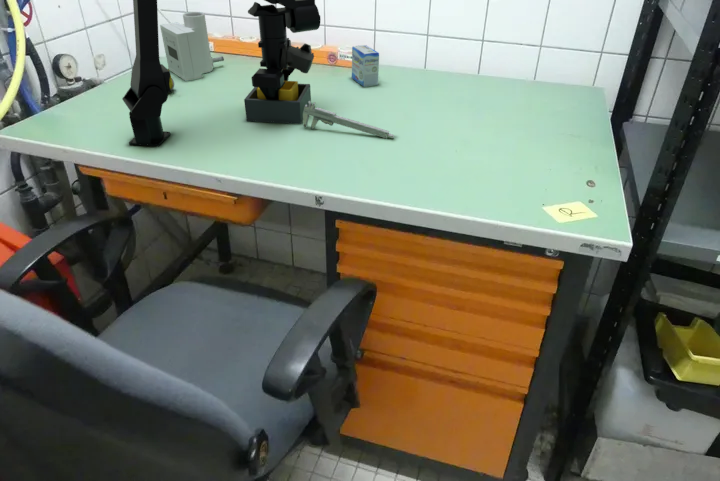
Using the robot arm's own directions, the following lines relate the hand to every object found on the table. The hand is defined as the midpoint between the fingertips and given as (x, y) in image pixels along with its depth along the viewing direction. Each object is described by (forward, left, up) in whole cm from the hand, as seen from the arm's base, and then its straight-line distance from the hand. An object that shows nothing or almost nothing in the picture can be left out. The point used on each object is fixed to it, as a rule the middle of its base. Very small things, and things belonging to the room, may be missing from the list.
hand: (279, 104), depth 124 cm
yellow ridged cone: (+9, +31, -2) cm, 33 cm away
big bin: (0, 0, -2) cm, 2 cm away
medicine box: (+24, -18, -2) cm, 30 cm away
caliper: (-10, -18, -2) cm, 20 cm away
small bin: (0, 0, -1) cm, 1 cm away
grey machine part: (+27, +29, -2) cm, 40 cm away
